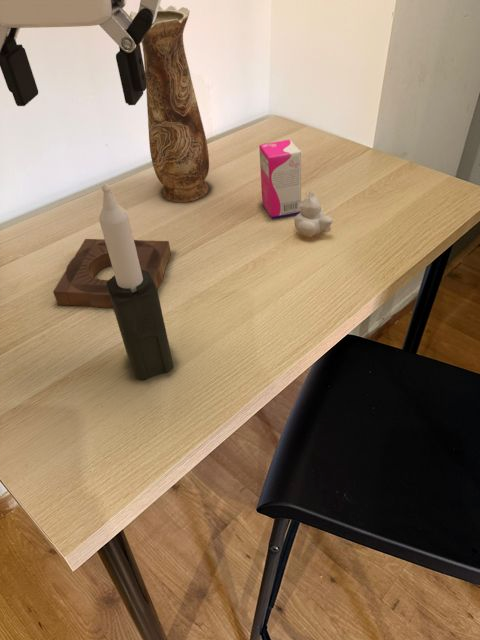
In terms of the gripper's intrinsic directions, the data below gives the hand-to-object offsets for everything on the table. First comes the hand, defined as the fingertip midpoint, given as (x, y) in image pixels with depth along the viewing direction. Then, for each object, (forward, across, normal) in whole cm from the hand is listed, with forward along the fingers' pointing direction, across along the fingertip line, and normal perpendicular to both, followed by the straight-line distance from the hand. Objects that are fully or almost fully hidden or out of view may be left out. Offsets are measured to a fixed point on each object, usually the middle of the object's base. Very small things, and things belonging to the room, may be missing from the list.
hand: (81, 100), depth 46 cm
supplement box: (+33, -14, -40) cm, 54 cm away
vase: (+33, +6, -46) cm, 57 cm away
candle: (+33, 0, 0) cm, 33 cm away
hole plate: (+33, +10, -18) cm, 39 cm away
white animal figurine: (+33, -20, -32) cm, 51 cm away
